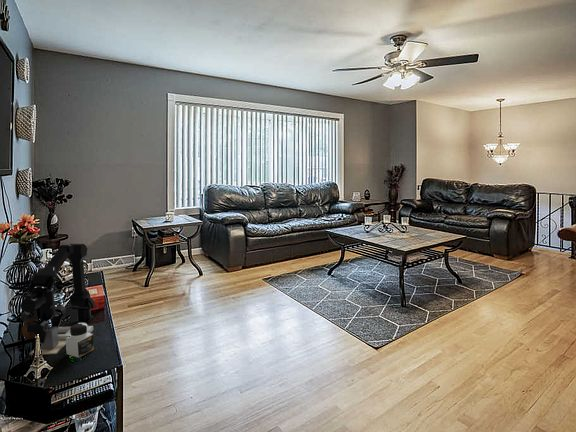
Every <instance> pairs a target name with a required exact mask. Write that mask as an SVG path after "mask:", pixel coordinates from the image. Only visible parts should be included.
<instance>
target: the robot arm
mask: <svg viewBox="0 0 576 432" xmlns="http://www.w3.org/2000/svg"><path fill="white" fill-rule="evenodd" d="M87 253H88V247H87V245H86V244H85V243H69V244H60V245H59V246H58V249H57V250H56V252H55V253H54V254H53V256H52V257H51V259H50V260H49V261H48V263H47V265H45V267H43V268H41V269H39V270H37V272H35V273H34V275H33V276H32V278H31V281H30V283H29V286H28V288H27V291H26V292H27V293H28V294H26V295H25V296H24V297H25V298H24V299H22V300H21V303H20V309H21V310H22V311H23V312H22V313H21V314H20V319H21V320H22V321H23V322H24V321H28V320H30V319H33V318H35V319H37V320H38V321H33V322H31V323H30V324H29V325H27V326H26V332H33V333H35V334H36V336H37V334H39V337H40V341H39V344H40V343H44V342H45V338H46V335H47V331H48V327H47V326H48V325H49V323H48V322H49V321H50V324H51V327H57V329H58V327H60V325H61V322H62V321H63V318H64V317H65V315H66V313H67V308H66V307H65V306H64V305H63V306H62V305H61V306H60V305H58V302H56V301H55V294H54V293H55V292H54V290H55V289H56V288H57V286H56V285H55V284H56V282H57V280H58V277H59V276H58V272H59V271H60V269H61V268H62V266H63V264H65V262H66V260H67V259H68V260H69V261H70V262H71V272H72V282H73V283H72V285H73V292H72V294H71V295H69V304H70V307H71V310H72V311H74V310H76V313H77V319H75V320H74V323H88V322H90V321H91V320H92V319H93V318H95V316H94V315H92V314H91V313H92V312H91V311H92V309H94V308H95V306H96V305H95V304H96V302H95V300H94V299H92V298H91V293H90V291H88V290H87V287H86V276H85V265H84V260H85V259H86V258H87V256H88V254H87ZM57 305H58V306H57Z"/></svg>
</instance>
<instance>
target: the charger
mask: <svg viewBox="0 0 576 432" xmlns="http://www.w3.org/2000/svg"><path fill="white" fill-rule="evenodd" d="M47 327H48V331H47V335H46V338H45V342H44V343H40V342H39V345H40V344H41V349H54V348H55V347H56V346H57V345H58V341H59V340H58V334H59V333H58V331H57V327H52V326H51V325H50V324H48V326H47Z"/></svg>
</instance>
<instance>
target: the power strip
mask: <svg viewBox="0 0 576 432" xmlns="http://www.w3.org/2000/svg"><path fill="white" fill-rule="evenodd" d="M70 327H71V326H59V327H58V329H57V331H58V341H64V340H66V338H67V337H69V336H70V335H71V333H70ZM87 329H88V333H91V334H92V332H93V331H94V326H93V325H87Z"/></svg>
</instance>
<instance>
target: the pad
mask: <svg viewBox="0 0 576 432" xmlns="http://www.w3.org/2000/svg"><path fill="white" fill-rule="evenodd" d="M65 346H66V340H58V345H57V346H56V347H55V348H54V349H41V351H42V355H57V354H58V353H59V352H60V351H61V350H62V348H63V347H65ZM33 353H34V349H33V350H32V351H30V352H29V356H34V355H33Z"/></svg>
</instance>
